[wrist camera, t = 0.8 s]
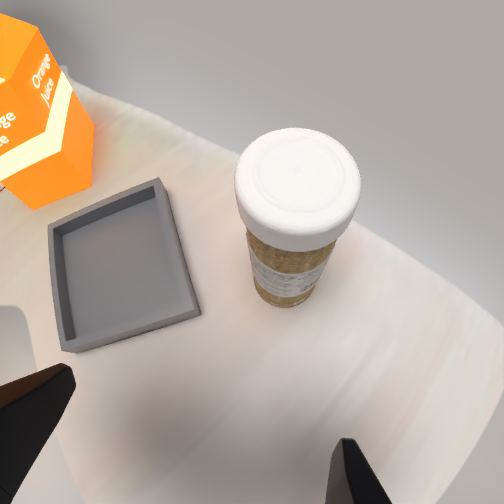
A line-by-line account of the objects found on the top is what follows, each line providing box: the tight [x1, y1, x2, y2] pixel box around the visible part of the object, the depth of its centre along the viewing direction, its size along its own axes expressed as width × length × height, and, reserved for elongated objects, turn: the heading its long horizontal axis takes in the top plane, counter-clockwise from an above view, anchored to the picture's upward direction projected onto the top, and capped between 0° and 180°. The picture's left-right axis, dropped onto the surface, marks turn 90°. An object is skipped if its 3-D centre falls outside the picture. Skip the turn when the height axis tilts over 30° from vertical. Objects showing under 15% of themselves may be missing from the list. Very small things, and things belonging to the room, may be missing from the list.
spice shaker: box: [234, 128, 361, 307], centre depth 17 cm, size 5×5×13 cm
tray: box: [48, 177, 201, 353], centre depth 23 cm, size 11×11×2 cm
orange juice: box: [0, 14, 94, 210], centre depth 19 cm, size 8×9×20 cm
